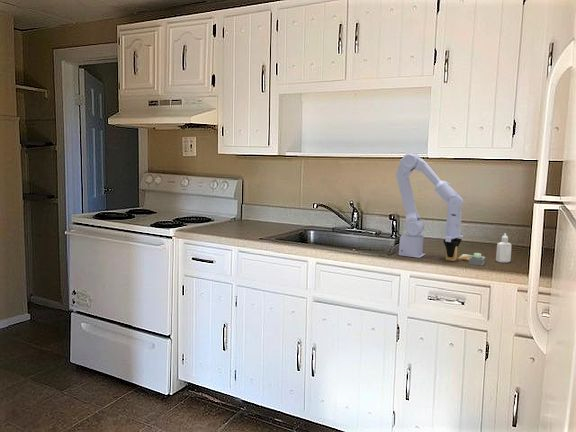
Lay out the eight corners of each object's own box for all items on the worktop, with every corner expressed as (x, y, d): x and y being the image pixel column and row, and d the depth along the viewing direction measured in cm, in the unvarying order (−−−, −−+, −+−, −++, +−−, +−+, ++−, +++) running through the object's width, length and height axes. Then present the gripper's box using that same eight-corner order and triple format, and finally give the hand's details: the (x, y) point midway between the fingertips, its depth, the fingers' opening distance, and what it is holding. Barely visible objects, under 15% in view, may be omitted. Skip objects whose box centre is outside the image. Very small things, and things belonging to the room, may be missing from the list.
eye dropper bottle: (510, 263, 196) (513, 234, 194) (496, 262, 197) (498, 233, 196) (509, 261, 200) (512, 233, 198) (495, 260, 202) (497, 232, 200)
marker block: (445, 259, 200) (446, 244, 200) (448, 258, 203) (449, 243, 202) (454, 261, 199) (455, 245, 198) (456, 259, 201) (457, 244, 201)
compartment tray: (456, 259, 201) (456, 257, 201) (462, 255, 209) (462, 253, 209) (480, 262, 196) (480, 260, 196) (485, 258, 204) (485, 256, 204)
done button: (472, 260, 194) (473, 253, 193) (474, 259, 196) (474, 252, 196) (479, 261, 192) (480, 254, 192) (481, 260, 195) (482, 253, 194)
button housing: (469, 263, 194) (469, 258, 193) (472, 261, 198) (472, 255, 197) (482, 265, 191) (482, 259, 191) (484, 263, 195) (485, 257, 195)
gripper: (458, 227, 191) (456, 260, 193) (468, 223, 203) (465, 254, 204) (441, 225, 195) (439, 258, 196) (451, 221, 206) (449, 252, 208)
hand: (451, 256), depth 201 cm, fingers closed on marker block, 3 cm apart
